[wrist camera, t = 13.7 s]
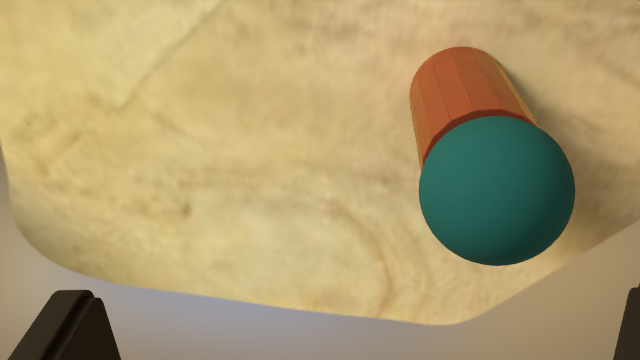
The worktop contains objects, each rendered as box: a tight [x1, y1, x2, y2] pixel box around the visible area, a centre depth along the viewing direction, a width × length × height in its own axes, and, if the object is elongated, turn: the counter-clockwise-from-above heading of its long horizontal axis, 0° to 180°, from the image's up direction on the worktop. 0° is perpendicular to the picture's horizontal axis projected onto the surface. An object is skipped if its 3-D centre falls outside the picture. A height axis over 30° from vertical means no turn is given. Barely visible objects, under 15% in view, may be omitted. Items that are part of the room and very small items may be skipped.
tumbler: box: [410, 47, 541, 171], centre depth 30 cm, size 5×5×9 cm
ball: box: [419, 116, 575, 266], centre depth 24 cm, size 6×6×6 cm
